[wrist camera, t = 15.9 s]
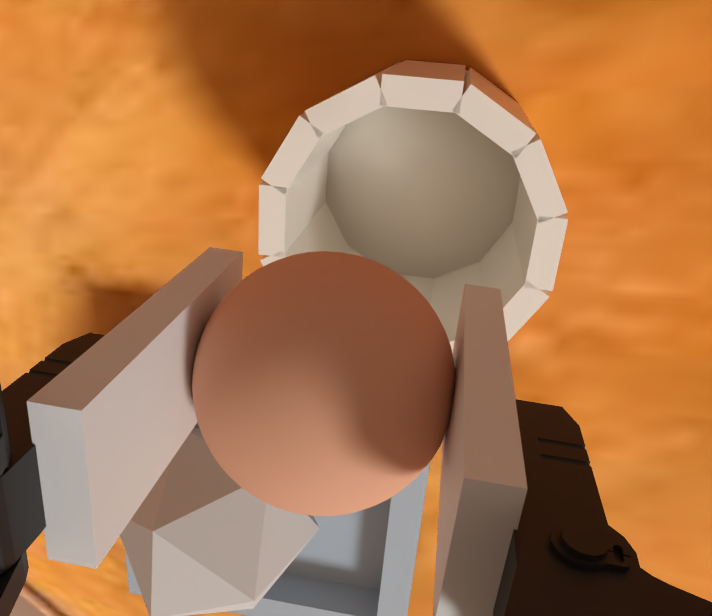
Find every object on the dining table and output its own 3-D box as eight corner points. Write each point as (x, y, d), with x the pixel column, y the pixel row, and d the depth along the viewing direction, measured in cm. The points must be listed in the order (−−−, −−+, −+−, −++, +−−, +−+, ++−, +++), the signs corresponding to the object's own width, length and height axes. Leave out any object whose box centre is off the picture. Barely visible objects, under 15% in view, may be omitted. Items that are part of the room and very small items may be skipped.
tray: (133, 324, 33) (104, 350, 31) (441, 367, 31) (438, 400, 29) (152, 554, 40) (129, 592, 37) (407, 601, 38) (402, 645, 35)
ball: (242, 207, 14) (137, 288, 9) (473, 238, 13) (481, 338, 9) (238, 403, 16) (150, 549, 11) (439, 436, 15) (430, 602, 11)
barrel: (317, 52, 26) (260, 62, 19) (559, 73, 25) (595, 92, 18) (307, 272, 31) (257, 349, 23) (516, 299, 29) (531, 389, 22)
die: (233, 439, 39) (123, 595, 34) (183, 359, 32) (35, 543, 27) (355, 501, 35) (252, 685, 31) (329, 428, 28) (190, 652, 23)
